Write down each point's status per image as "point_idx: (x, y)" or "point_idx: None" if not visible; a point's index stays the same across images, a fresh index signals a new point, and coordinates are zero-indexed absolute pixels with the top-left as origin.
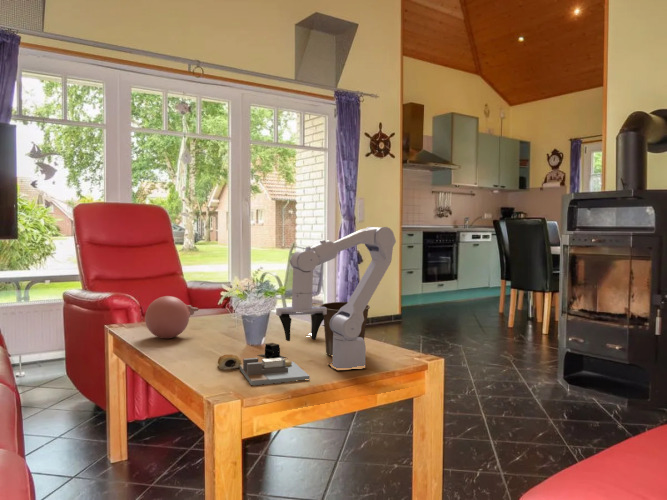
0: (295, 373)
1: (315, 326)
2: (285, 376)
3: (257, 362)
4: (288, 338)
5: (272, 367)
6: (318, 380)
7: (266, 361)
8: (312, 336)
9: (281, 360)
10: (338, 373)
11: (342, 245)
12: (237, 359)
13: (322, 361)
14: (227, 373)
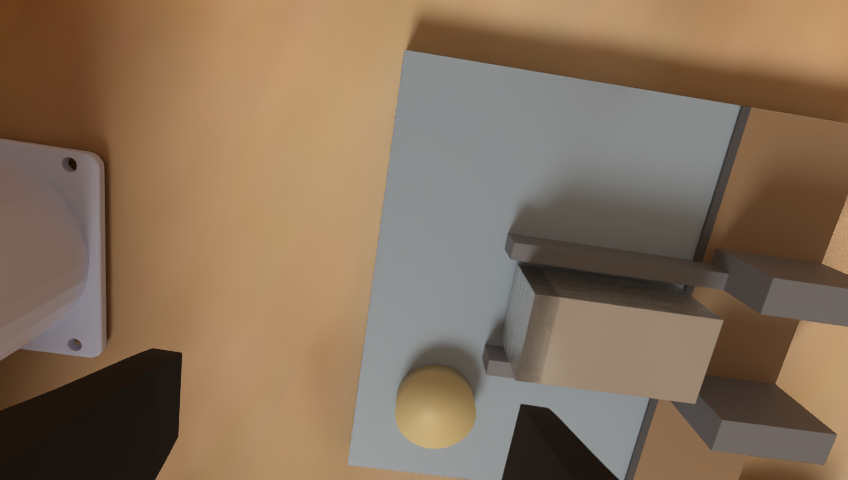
0: (477, 166)
1: (21, 451)
2: (586, 125)
3: (795, 315)
4: (556, 420)
5: (630, 288)
6: (340, 14)
7: (704, 322)
8: (161, 420)
9: (571, 299)
10: (108, 117)
11: None
12: None
13: None
14: None
